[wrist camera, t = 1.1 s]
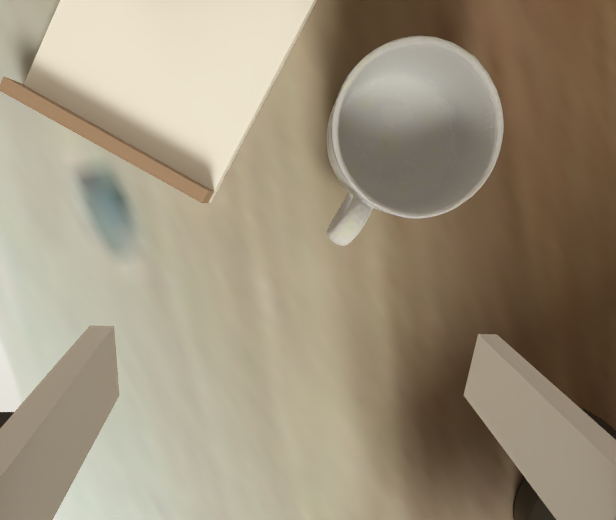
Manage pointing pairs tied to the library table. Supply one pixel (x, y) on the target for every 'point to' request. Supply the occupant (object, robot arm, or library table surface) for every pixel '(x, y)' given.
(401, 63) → the teacup
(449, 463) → the library table surface
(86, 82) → the beige tray
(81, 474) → the library table surface
